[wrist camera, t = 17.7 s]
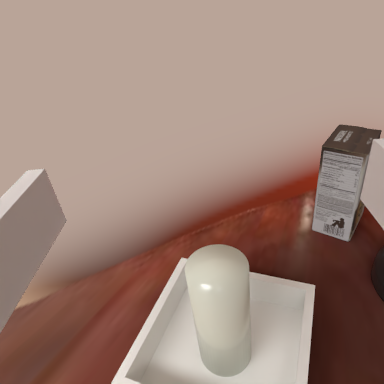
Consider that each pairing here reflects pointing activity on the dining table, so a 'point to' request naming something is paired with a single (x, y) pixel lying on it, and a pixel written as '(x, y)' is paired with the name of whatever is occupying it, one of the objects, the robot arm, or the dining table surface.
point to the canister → (221, 307)
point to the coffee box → (342, 181)
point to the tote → (260, 337)
